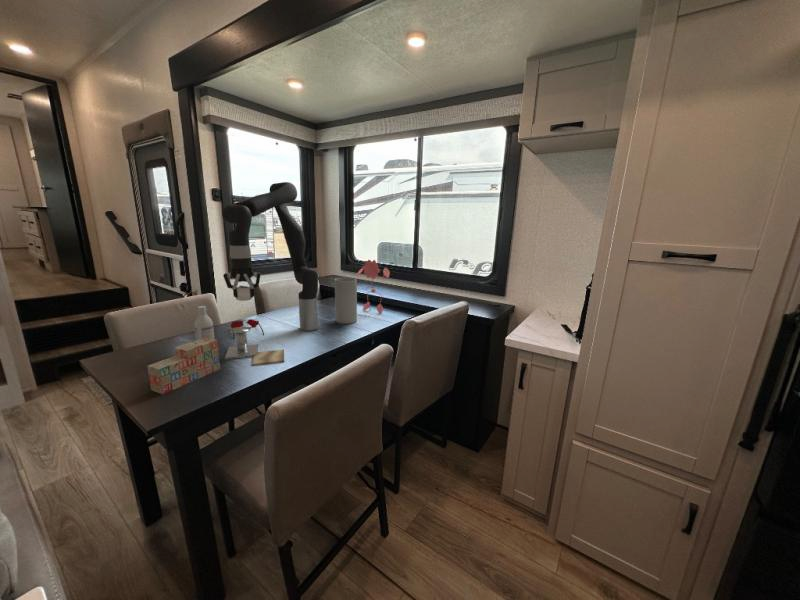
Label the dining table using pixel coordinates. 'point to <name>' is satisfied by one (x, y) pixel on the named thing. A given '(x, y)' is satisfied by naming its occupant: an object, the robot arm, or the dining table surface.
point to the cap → (243, 293)
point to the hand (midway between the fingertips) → (244, 297)
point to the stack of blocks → (185, 365)
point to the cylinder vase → (346, 300)
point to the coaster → (268, 357)
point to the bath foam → (203, 325)
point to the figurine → (372, 271)
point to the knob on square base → (241, 345)
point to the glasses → (250, 322)
